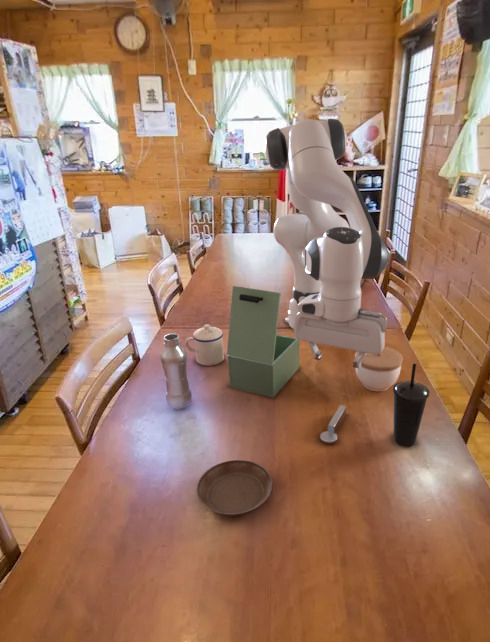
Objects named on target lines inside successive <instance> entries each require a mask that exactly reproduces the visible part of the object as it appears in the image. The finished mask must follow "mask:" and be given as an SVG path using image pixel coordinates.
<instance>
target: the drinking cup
mask: <svg viewBox="0 0 490 642" xmlns="http://www.w3.org/2000/svg"><path fill="white" fill-rule="evenodd" d="M411 368H412V369H411V375H410V380H402V381H401V380H400V381H398V382H395V383H394V384H393V385H392V386H393V387H392V392H393V441H394V442H395V444H397V446H398V445H399V446H401V447H405V448H408V447H412V446H414V445H415V444H416V441H417V437H418V433H419V429H420V425H421V423H422V419H423V414H424V411H425V407H426V404H427V400H428V398H429V397H430V389H429V388H428V387H427V386H425V384H423V383H420V382H417V381H415V376H416V369H417V364H416V363H412V367H411Z"/></svg>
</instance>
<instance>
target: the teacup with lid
mask: <svg viewBox="0 0 490 642" xmlns="http://www.w3.org/2000/svg"><path fill="white" fill-rule="evenodd" d="M223 336H224V332H223V330H221V328H218V327H216V326H211V324H208V323H207V324H204V325H203V326H202V327H200V328H198V329H195V330H194V332H193V334H192V336H190V337H187V338H186V339H185V341H184V345H185V346H184V347H185V348H186V349H187V351H189V352H191V353H194V354H195V361H196V363H198V364H199V365H202V366H206V367H209V366H215V365H218V364H220V363H222V362H223V361H224V359H225V353H224V340H223ZM189 341H193V343H194V344H193V345H194V349H193V348H192V347H191V346H190V345H189Z"/></svg>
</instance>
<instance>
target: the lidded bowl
mask: <svg viewBox="0 0 490 642" xmlns="http://www.w3.org/2000/svg"><path fill="white" fill-rule="evenodd" d="M355 358H360V356H359V352H358V351H355V353H354V359H355ZM403 361H404V358H403V355H402V354H401V353H400V352H399V351H397V349H395V348H392V347H388V346H384V349H383V350H382V352H381V353H379V354H378V355H374V354H369V353H367V354H366V356H365V357H364V358H363V360H362V364H361V367H360V369H359V368H355V374H356V377H357V379H358V381H359V382H360V383H361V384H362V385H363V387H364V388H365V389H367V390H368V391H371V392H385V391H387V390H388V389H389V388H390V387H392V386H394V385H395V384H396V383H397V381H398V379H399V377H400V376H401V375H400V374H401V371H402V365H403Z"/></svg>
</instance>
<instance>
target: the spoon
mask: <svg viewBox="0 0 490 642" xmlns="http://www.w3.org/2000/svg"><path fill="white" fill-rule="evenodd" d="M346 416H347V406H346V405H341V404H339V406H338V408H337V409H336V411H335V413H334V414H333V416H332V418H331V419H330V421H329V423H328V425H327V431H322V432H321V433H320V435H319V441H320V442H321V443H322V444H323V445H327V446H332V445H334V444H336V443H337V442H338V434H337V431H338V430H339V429H340V426H341V425H342V423H343V421H344V420H345V418H346Z"/></svg>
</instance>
